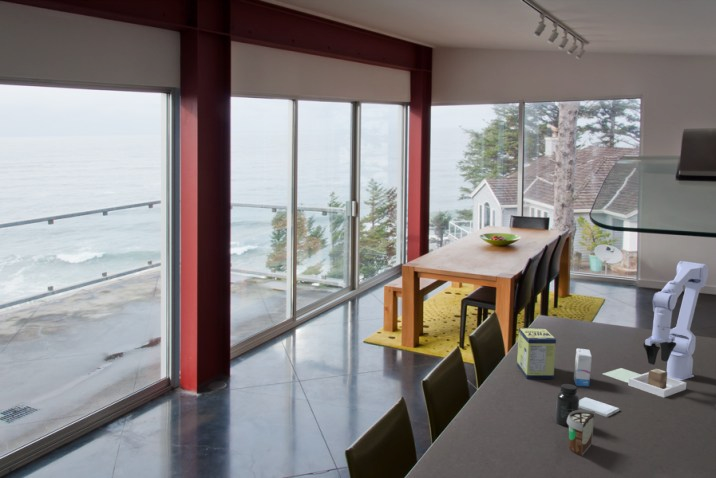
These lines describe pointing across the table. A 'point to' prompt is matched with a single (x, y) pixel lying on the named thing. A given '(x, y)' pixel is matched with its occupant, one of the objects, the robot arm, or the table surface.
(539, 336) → the protein box
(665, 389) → the grey bin
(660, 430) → the table surface
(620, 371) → the sage pad
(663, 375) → the walnut block
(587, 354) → the ink box
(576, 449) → the food container
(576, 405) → the supplement bottle
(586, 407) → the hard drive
